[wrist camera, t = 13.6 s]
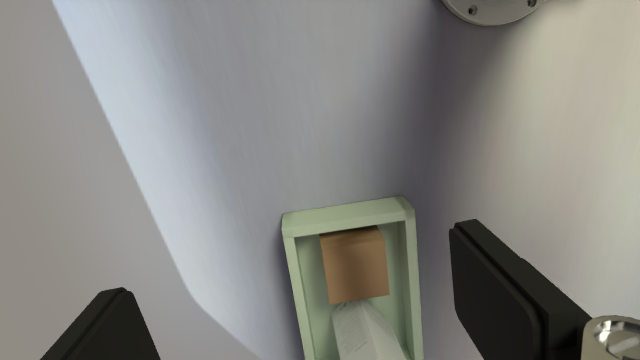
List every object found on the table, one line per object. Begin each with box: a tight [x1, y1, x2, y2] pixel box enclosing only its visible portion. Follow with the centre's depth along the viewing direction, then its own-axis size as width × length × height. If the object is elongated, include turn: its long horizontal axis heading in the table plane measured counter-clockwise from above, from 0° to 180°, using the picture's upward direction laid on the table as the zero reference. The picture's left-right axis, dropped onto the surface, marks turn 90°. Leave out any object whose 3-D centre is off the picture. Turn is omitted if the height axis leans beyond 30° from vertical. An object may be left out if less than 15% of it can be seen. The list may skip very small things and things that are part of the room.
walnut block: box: [319, 225, 390, 304], centre depth 37 cm, size 6×6×5 cm
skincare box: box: [331, 299, 406, 360], centre depth 36 cm, size 6×4×12 cm
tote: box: [282, 195, 424, 360], centre depth 39 cm, size 13×20×4 cm, turn 8°
